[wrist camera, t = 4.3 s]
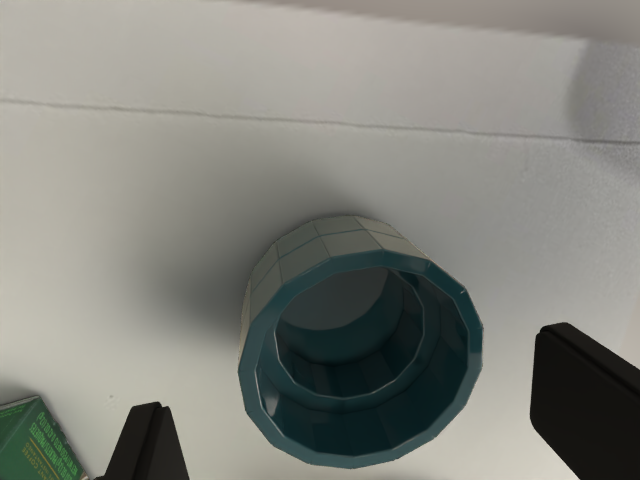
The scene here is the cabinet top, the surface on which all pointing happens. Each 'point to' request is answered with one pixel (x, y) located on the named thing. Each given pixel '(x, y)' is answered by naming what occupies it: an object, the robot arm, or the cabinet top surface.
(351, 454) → the bowl
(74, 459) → the coffee box
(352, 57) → the cabinet top surface
